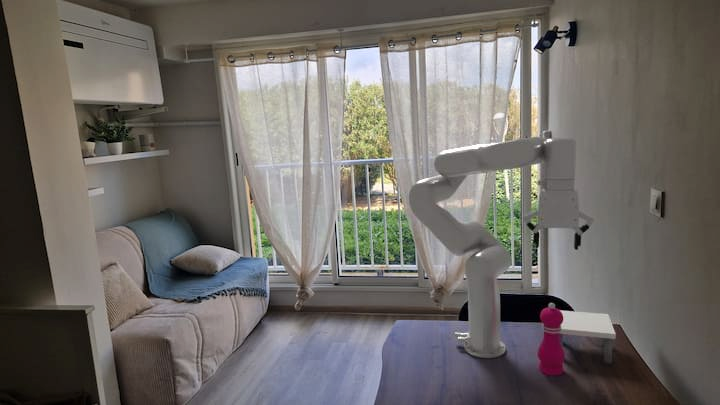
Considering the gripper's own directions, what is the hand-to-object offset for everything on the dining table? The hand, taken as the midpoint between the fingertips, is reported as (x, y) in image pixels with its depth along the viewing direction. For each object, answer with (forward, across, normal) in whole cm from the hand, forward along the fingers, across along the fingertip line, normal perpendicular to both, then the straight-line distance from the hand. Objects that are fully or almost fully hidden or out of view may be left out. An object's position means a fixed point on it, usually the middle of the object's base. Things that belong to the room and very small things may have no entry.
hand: (556, 247), depth 124 cm
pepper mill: (+36, 0, -1) cm, 36 cm away
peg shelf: (+36, +9, +13) cm, 39 cm away
